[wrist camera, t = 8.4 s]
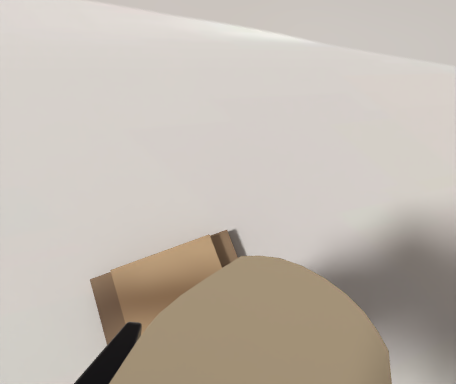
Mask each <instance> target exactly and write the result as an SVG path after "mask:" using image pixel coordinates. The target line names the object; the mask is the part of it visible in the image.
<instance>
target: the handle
mask: <svg viewBox="0 0 456 384" xmlns="http://www.w3.org/2000/svg"><path fill="white" fill-rule="evenodd" d="M109 384H392V382H391V372H390V361H389V351H388V349H387V347H386V345H385V343H384V342H383V340H382V338H381V336H380V334H379V333H378V331H377V329H376V328H375V327H374V325H373V324H372V322H371V321H370V319H369V318H368V317H367V315H366V314H365V312H364V311H363V310H362V309H361V308H360V307H359V306H358V305H357V304H356V303H355V302H354V301H353V300H352V299H351V298H350V297H349V296H348V295H347V294H346V293H344V292H343V291H341V290H340V289H339V288H337V287H336V286H335V285H333V284H332V283H331V282H329V281H328V280H327V279H325V278H324V277H322V276H320V275H318V274H316V273H314V272H312V271H311V270H309V269H307V268H305V267H303V266H301V265H298V264H295V263H292V262H289V261H286V260H284V259H281V258H274V257H266V256H241V257H239V258H237V259H236V260H234V261H233V262H231V263H230V264H228V265H226V266H225V267H223V268H222V269H220V270H218V271H217V272H215V273H214V274H212V275H211V276H209V277H207V278H206V279H204V280H203V281H201V282H200V283H198V284H197V285H195V286H194V287H192V288H191V289H189V290H188V291H186V292H185V293H184V294H182V295H181V296H179V297H178V298H177V299H176V300H175V301H173V302H172V303H171V304H170V305H169V306H168V307H166V308H165V309H164V310H162V311H161V312H160V313H159V314H158V315H157V316H156V317H155V319H154V320H153V321H152V322H151V323H150V324H149V326H148V327H147V328H146V330H145V331H144V332H143V334H142V335H141V337H140V338H139V339H138V341H137V342H136V344H135V345H134V347H133V348H132V350H131V351H130V353H129V354H128V356H127V357H126V359H125V360H124V362H123V363H122V365H121V366H120V368H119V369H118V371H117V373H116V374H115V376H114V377H113V379H112V380H111V382H110V383H109Z"/></svg>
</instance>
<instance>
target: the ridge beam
mask: <svg viewBox="0 0 456 384" xmlns="http://www.w3.org/2000/svg"><path fill="white" fill-rule="evenodd" d="M237 258H238V257H237V254H236V252H235V249H234V246H233V244H232V241H231V239H230V236H229V234H228V231H227V230H225V231H222V232H219V233H217V234H214V235H211V236H210V235H207V236H204V237H201V238H198V239H195V240H193V241H190V242H187V243H184V244H182V245H179V246H176V247H173V248H171V249H168V250H165V251H162V252H160V253H157V254H154V255H151V256H148V257H146V258H143V259H140V260H137V261H135V262H132V263H129V264H126V265H124V266H121V267H118V268H115V269H113V270H110V271H111V272H109V273H107V274H104V275H101V276H98V277H96V278H93V279H90V282H91V285H92V289H93V293H94V297H95V300H96V304H97V308H98V312H99V316H100V319H101V323H102V327H103V331H104V335H105V338H106V342H107V345H108V344H109V343H110V342H111V340H112V339H113V338H114V337H115V336H116V335H117V333H118V332H119V331H120V330H121V329H122V328H123V327H124V325H125V324H126V323H127V322H139V323H141V324H142V330H141V335H142V334H143V332H144V331H145V330H146V328H147V327H148V326H149V324H150V323H151V322H152V321H153V320H154V319H155V317H156V316H157V315H158V314H159V313H160V312H161V311H162V310H164V309H165V308H166V307H168V306H169V305H170V304H171V303H172V302H173V301H175V300H176V299H177V298H178V297H179V296H181V295H182V294H184V293H185V292H186V291H188V290H189V289H191V288H192V287H194V286H195V285H197V284H198V283H200V282H201V281H203V280H204V279H206V278H207V277H209V276H211V275H212V274H214V273H215V272H217V271H218V270H220V269H222V268H223V267H225V266H226V265H228V264H230V263H231V262H233V261H234V260H236V259H237Z"/></svg>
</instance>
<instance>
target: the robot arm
mask: <svg viewBox="0 0 456 384" xmlns="http://www.w3.org/2000/svg"><path fill="white" fill-rule="evenodd" d="M141 330H142V324H141V323H139V322H127V323H126V324H125V325H124V327H123V328H122V329H121V330H120V331H119V332H118V333H117V335H116V336H115V337H114V338H113V339H112V340H111V342H110V343H109V344H108V345H107V346H106V347H105V348H104V350H103V351H102V352H101V353H100V354H99V355H98V357H97V358H96V359H95V360H94V361H93V362H92V364H91V365H90V366H89V367H88V368H87V369H86V370H85V372H84V373H83V374H82V375H81V376H80V377H79V379H78V380H77V381H76V382H75V383H74V384H109V383H110V382H111V380H112V379H113V377H114V376H115V374H116V373H117V371H118V369H119V368H120V366H121V365H122V363H123V362H124V360H125V359H126V357H127V356H128V354H129V353H130V351H131V350H132V348H133V347H134V345H135V344H136V342H137V341H138V339H139V338H140V337H141Z"/></svg>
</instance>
